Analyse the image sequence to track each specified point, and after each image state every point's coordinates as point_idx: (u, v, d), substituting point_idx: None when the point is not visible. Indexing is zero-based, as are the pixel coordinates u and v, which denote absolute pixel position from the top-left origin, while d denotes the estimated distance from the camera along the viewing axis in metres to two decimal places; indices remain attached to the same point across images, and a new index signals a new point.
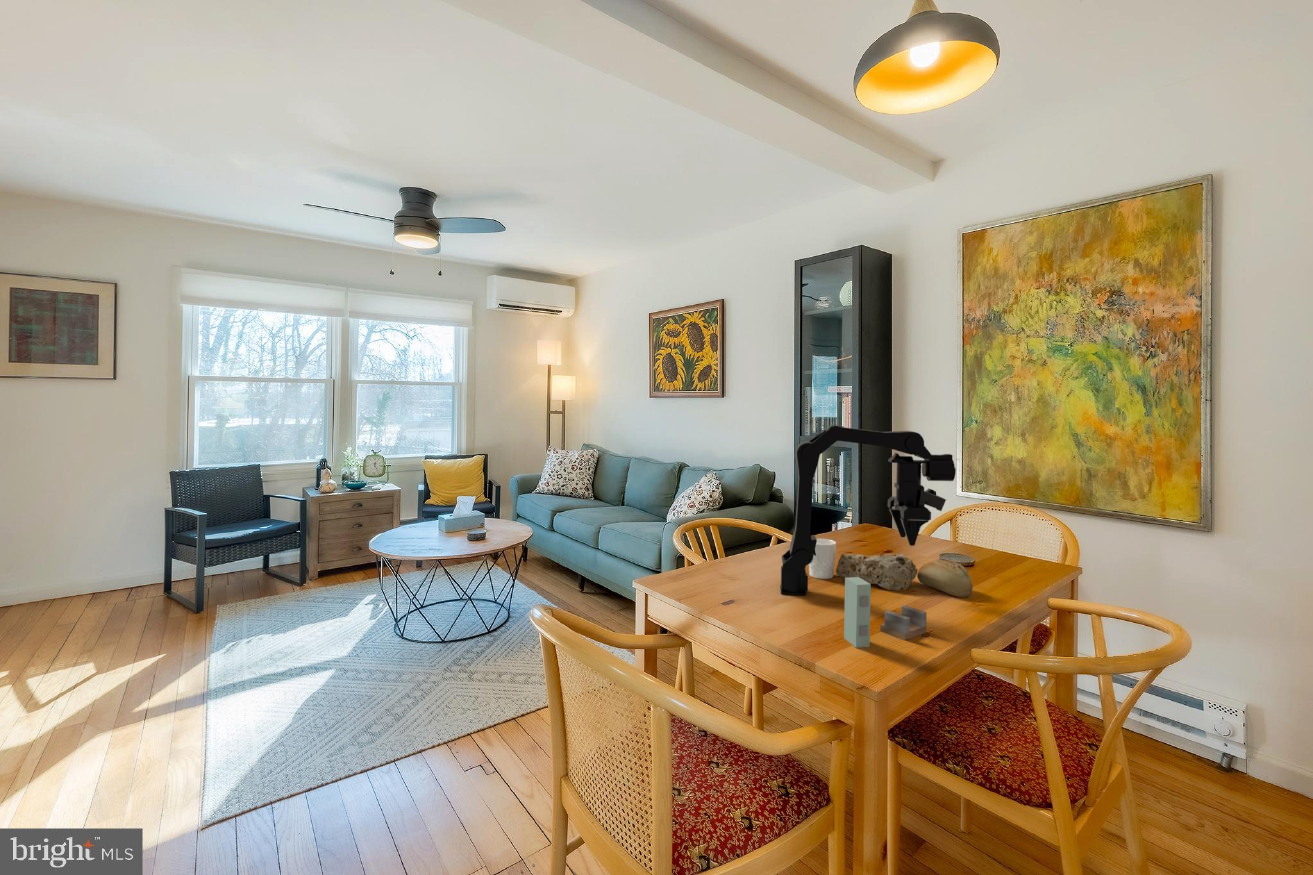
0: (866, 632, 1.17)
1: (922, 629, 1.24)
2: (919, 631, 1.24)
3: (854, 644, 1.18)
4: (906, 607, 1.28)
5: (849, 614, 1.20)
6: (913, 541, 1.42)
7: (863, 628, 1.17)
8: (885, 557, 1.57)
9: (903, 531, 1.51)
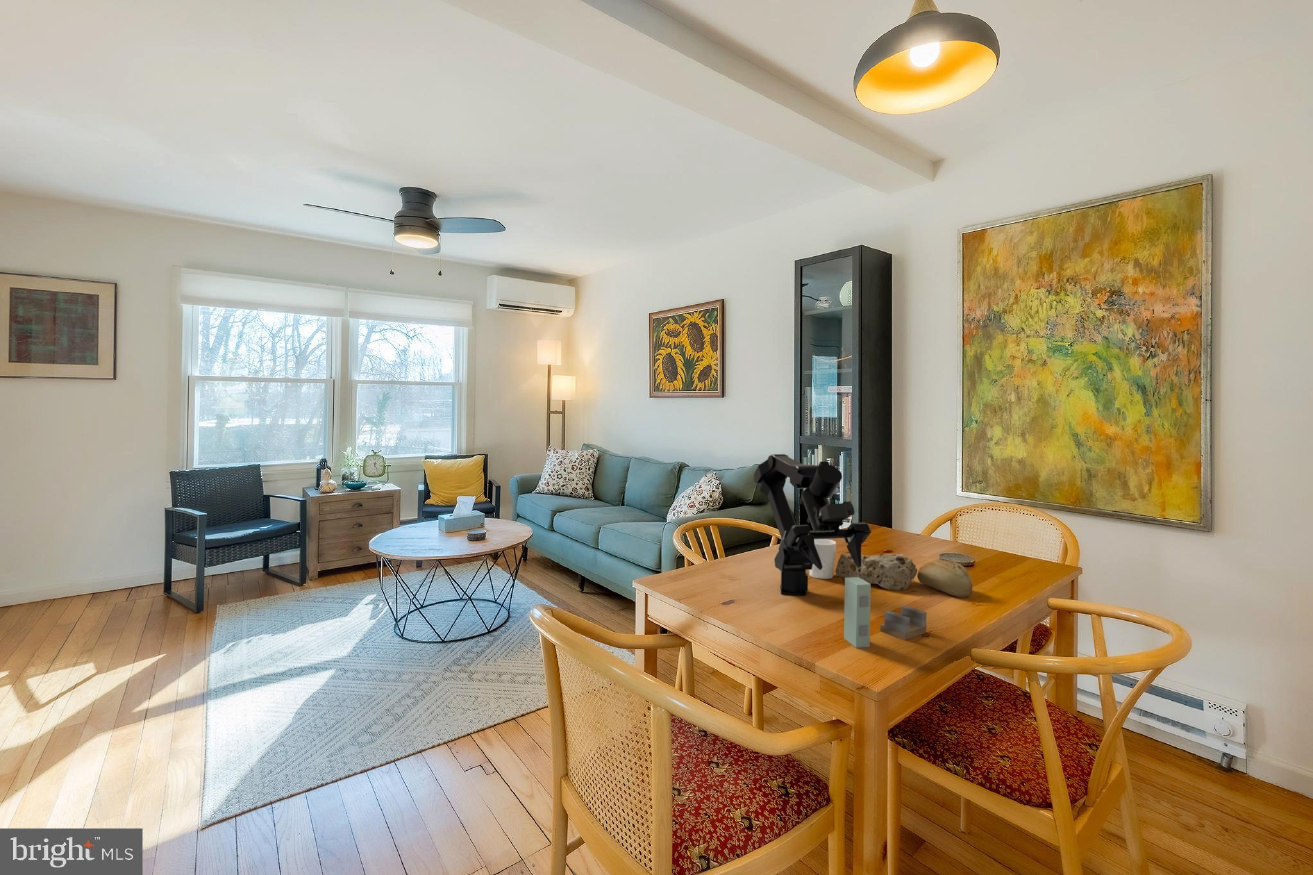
0: (866, 632, 1.17)
1: (922, 629, 1.24)
2: (919, 631, 1.24)
3: (854, 644, 1.18)
4: (906, 607, 1.28)
5: (849, 614, 1.20)
6: (817, 564, 1.27)
7: (863, 628, 1.17)
8: (885, 557, 1.57)
9: (856, 560, 1.29)
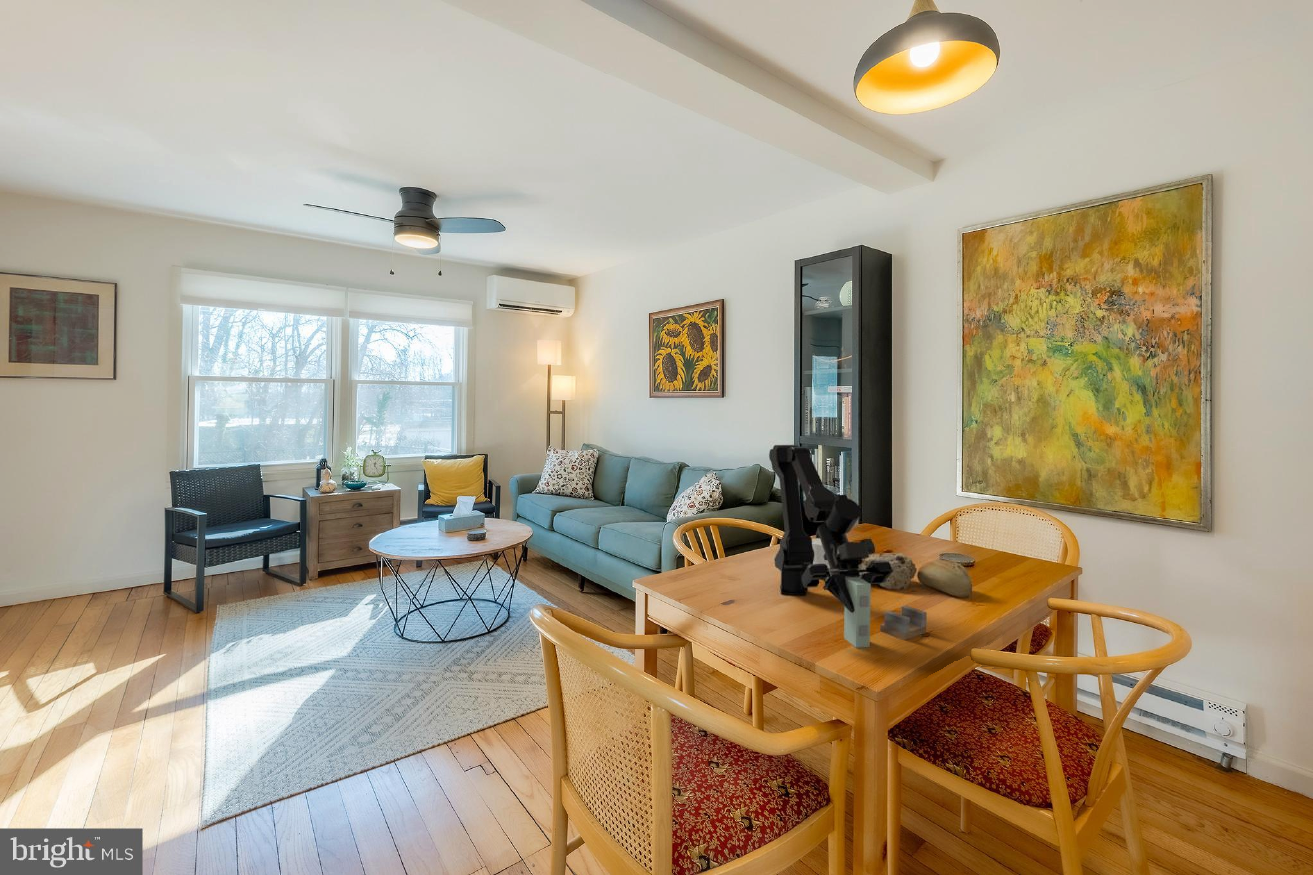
0: (866, 632, 1.17)
1: (922, 629, 1.24)
2: (919, 631, 1.24)
3: (854, 644, 1.18)
4: (906, 607, 1.28)
5: (849, 614, 1.20)
6: (849, 606, 1.19)
7: (863, 628, 1.17)
8: (885, 556, 1.58)
9: None
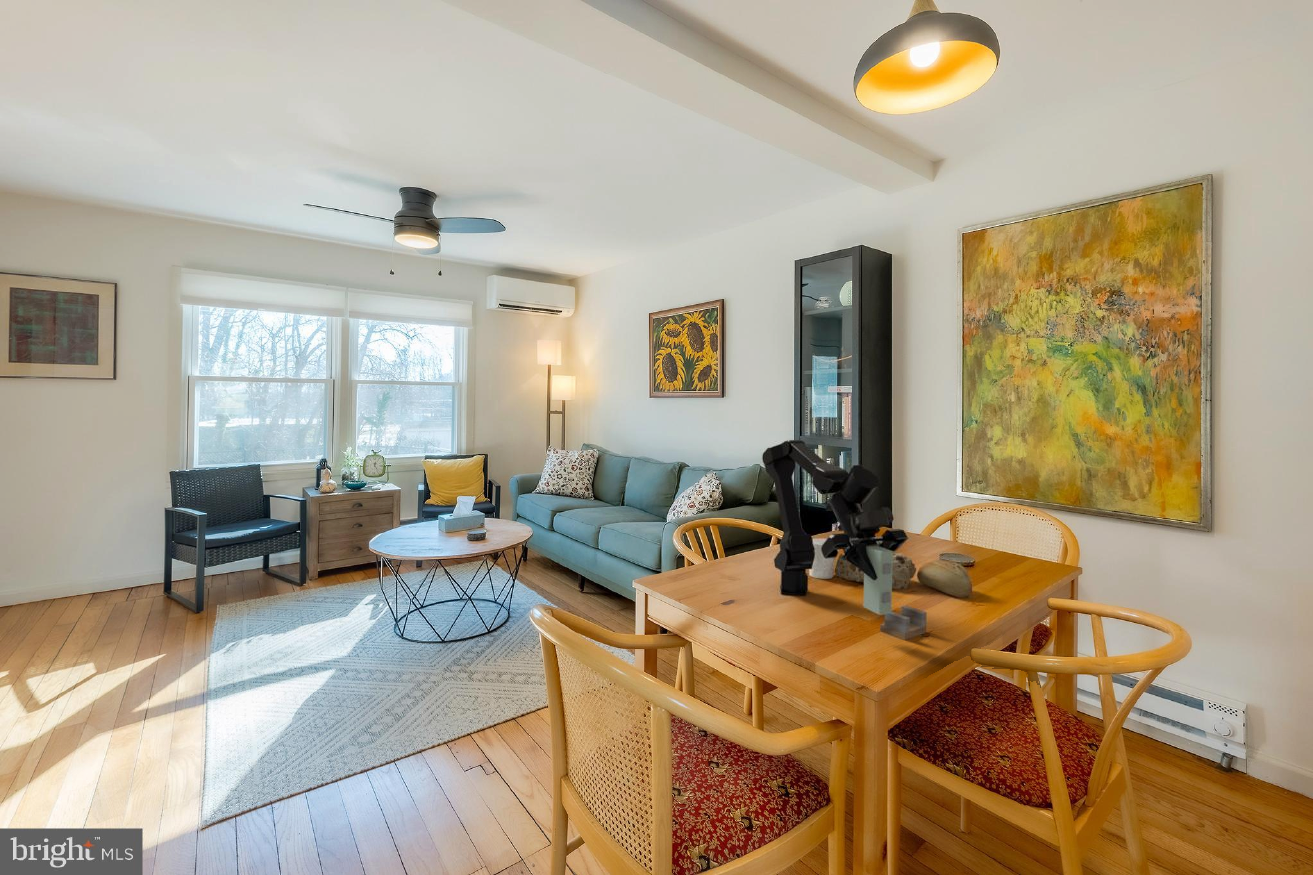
0: (889, 599, 1.18)
1: (922, 629, 1.24)
2: (919, 631, 1.24)
3: (877, 611, 1.19)
4: (906, 607, 1.28)
5: (870, 583, 1.21)
6: (871, 574, 1.19)
7: (886, 595, 1.18)
8: None
9: None
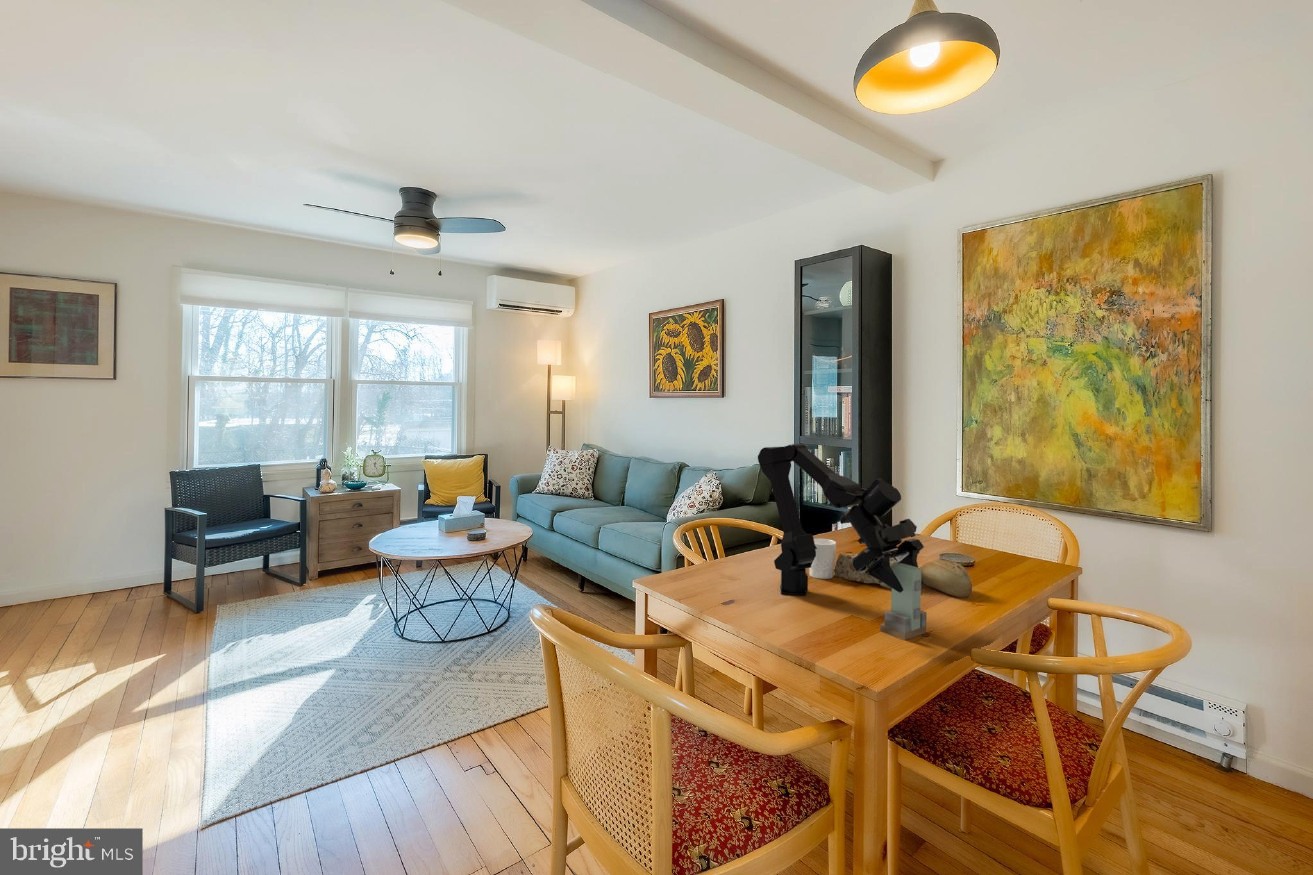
0: (919, 614, 1.23)
1: (922, 629, 1.24)
2: (919, 631, 1.24)
3: None
4: None
5: (900, 600, 1.24)
6: (897, 587, 1.22)
7: (917, 611, 1.22)
8: None
9: None
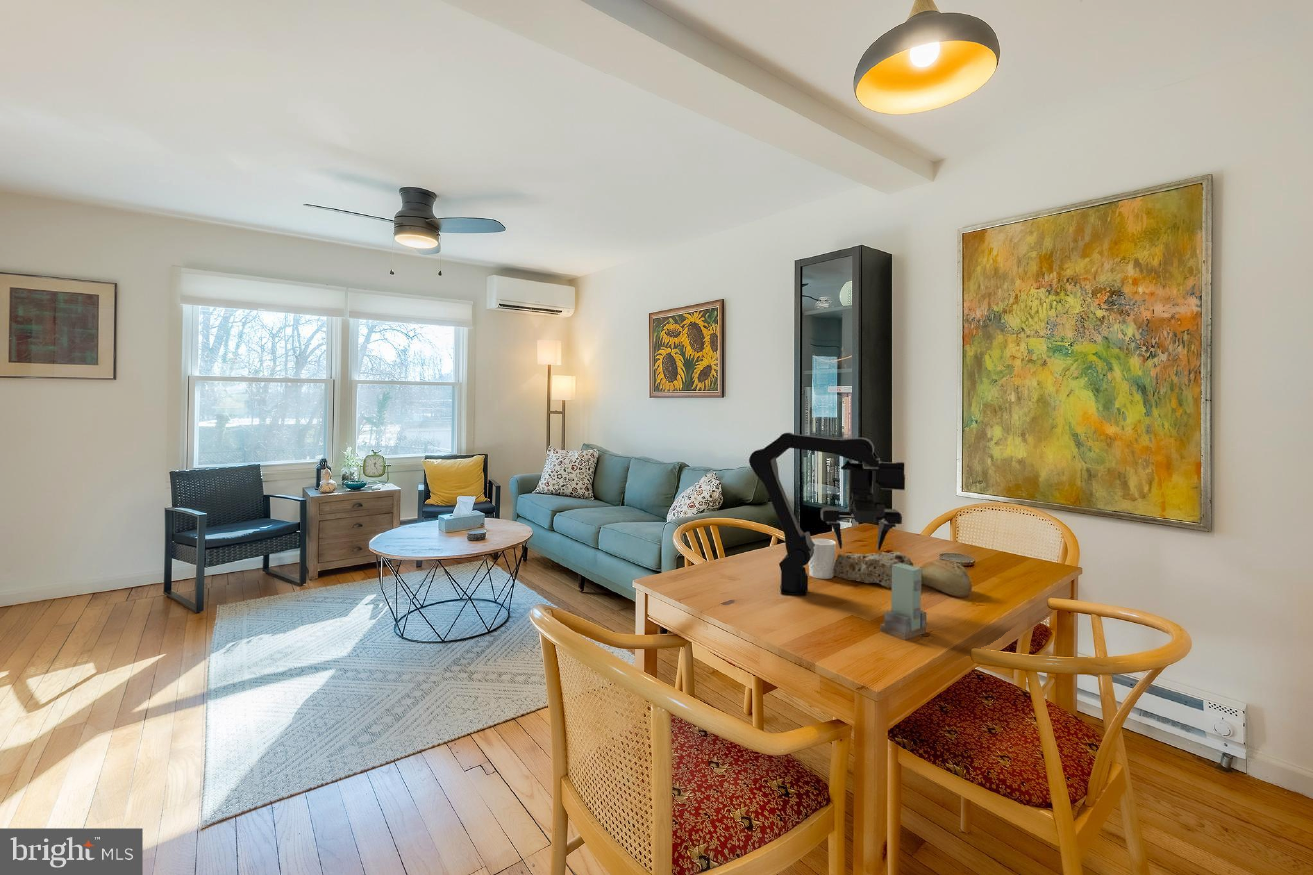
0: (919, 614, 1.23)
1: (922, 629, 1.24)
2: (919, 631, 1.24)
3: None
4: None
5: (900, 600, 1.24)
6: None
7: (917, 611, 1.22)
8: (884, 556, 1.59)
9: (878, 543, 1.45)
